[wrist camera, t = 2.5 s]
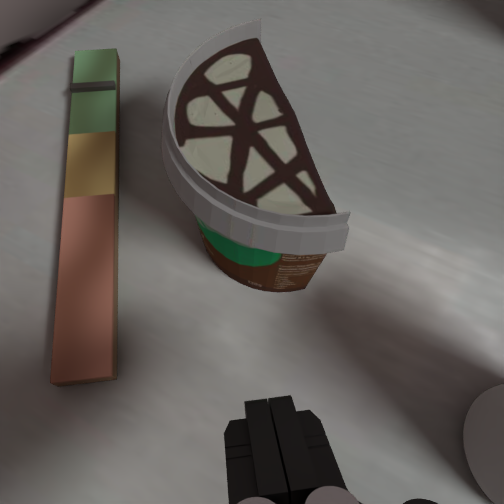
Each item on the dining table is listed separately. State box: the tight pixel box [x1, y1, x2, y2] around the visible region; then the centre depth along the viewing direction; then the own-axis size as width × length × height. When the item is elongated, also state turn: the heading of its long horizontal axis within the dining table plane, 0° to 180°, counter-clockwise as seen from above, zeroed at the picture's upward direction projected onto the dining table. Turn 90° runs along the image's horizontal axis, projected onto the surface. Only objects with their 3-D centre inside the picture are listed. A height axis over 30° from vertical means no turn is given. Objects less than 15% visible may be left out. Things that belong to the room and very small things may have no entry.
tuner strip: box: [50, 49, 120, 387], centre depth 27 cm, size 3×24×2 cm, turn 7°
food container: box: [161, 19, 350, 292], centre depth 22 cm, size 12×6×10 cm, turn 17°
